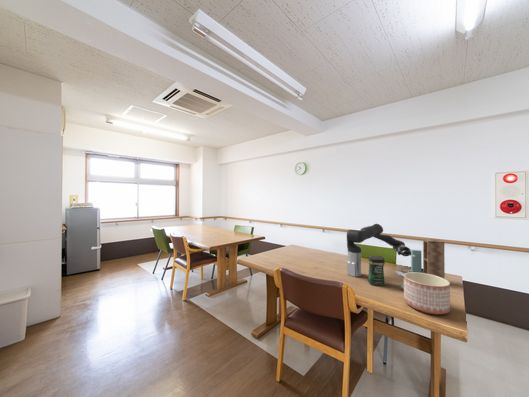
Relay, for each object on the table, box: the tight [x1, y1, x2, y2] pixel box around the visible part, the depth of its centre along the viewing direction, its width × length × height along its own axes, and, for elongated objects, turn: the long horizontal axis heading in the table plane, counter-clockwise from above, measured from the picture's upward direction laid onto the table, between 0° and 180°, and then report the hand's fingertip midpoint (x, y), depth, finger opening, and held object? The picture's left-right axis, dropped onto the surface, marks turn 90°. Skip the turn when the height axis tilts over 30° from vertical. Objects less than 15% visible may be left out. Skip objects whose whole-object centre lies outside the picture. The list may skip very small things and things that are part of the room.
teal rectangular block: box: [410, 249, 423, 273], centre depth 152 cm, size 6×4×18 cm, turn 72°
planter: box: [403, 271, 451, 316], centre depth 111 cm, size 19×19×15 cm
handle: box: [394, 270, 404, 290], centre depth 127 cm, size 18×8×20 cm
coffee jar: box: [367, 255, 386, 287], centre depth 140 cm, size 10×8×19 cm
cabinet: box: [400, 238, 446, 279], centre depth 148 cm, size 21×18×28 cm
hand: (411, 255), depth 163 cm, fingers open, 8 cm apart
